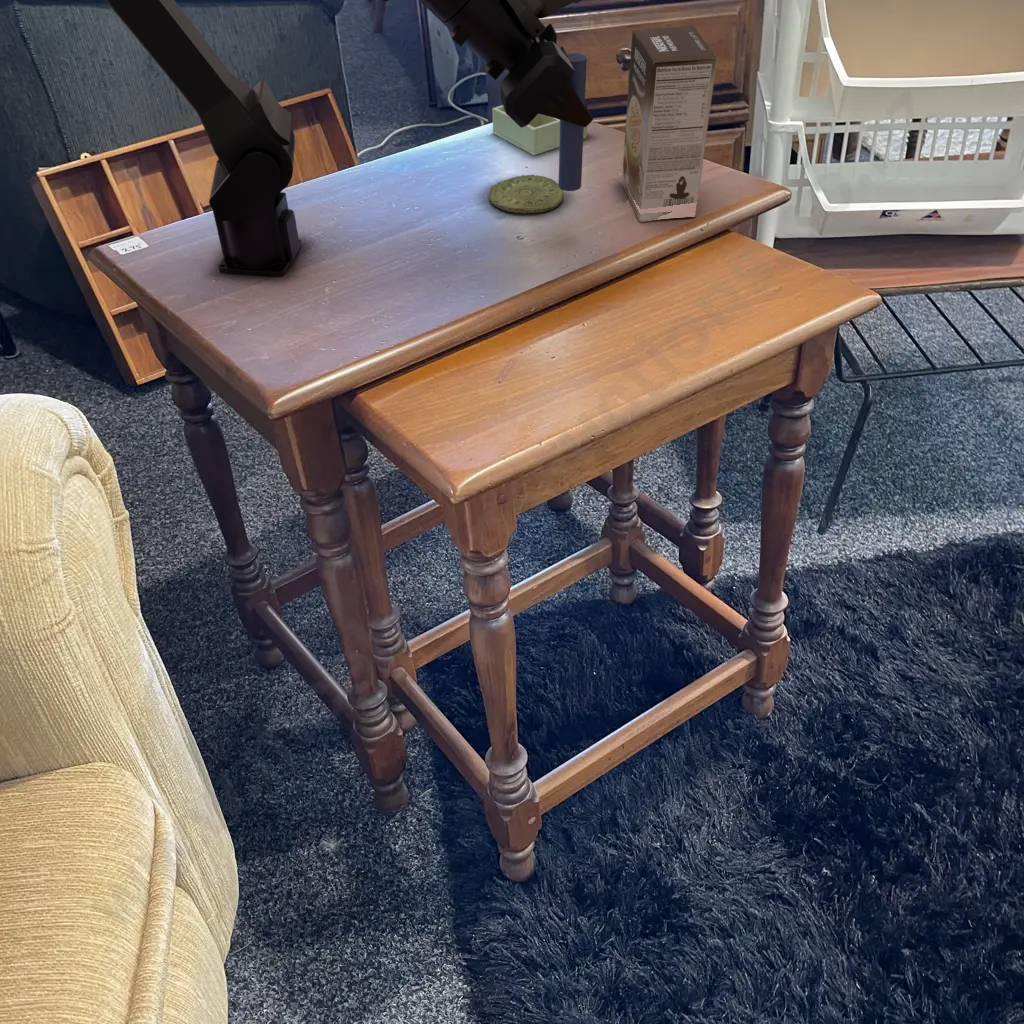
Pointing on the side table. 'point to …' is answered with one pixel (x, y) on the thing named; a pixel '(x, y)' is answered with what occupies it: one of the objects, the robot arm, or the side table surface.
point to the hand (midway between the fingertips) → (586, 117)
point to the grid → (529, 132)
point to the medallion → (526, 194)
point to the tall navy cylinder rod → (572, 133)
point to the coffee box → (666, 117)
